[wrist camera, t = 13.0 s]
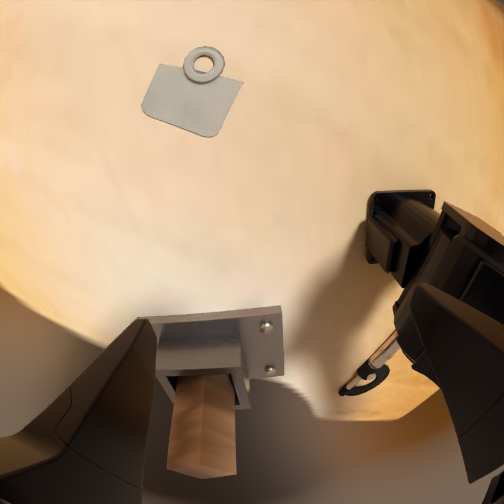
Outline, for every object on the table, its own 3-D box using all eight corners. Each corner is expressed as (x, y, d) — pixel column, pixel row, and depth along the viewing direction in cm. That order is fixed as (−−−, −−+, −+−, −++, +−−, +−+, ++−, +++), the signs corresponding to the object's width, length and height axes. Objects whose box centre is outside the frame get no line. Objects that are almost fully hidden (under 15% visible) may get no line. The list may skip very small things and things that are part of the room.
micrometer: (366, 391, 36) (370, 405, 34) (331, 388, 34) (335, 403, 32) (433, 325, 30) (442, 338, 28) (403, 314, 28) (413, 329, 26)
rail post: (207, 344, 26) (199, 464, 15) (234, 362, 28) (236, 474, 17) (180, 358, 27) (166, 468, 16) (207, 375, 29) (202, 478, 18)
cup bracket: (280, 305, 25) (288, 346, 21) (283, 368, 30) (288, 404, 26) (137, 317, 25) (123, 355, 21) (167, 375, 30) (161, 410, 26)
